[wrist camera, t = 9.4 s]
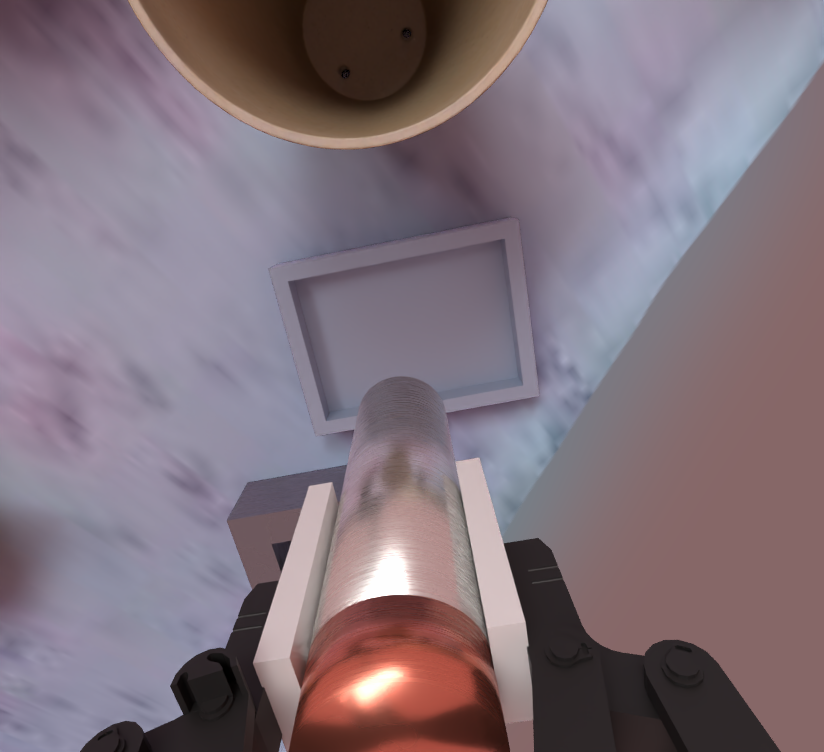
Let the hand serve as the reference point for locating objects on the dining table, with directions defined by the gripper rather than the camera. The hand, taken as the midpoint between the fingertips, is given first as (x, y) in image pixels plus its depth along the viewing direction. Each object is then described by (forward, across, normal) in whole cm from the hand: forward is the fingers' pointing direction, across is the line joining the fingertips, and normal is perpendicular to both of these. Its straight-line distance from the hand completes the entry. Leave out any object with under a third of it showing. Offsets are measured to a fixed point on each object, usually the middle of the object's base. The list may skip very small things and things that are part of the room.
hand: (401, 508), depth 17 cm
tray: (+21, +1, 0) cm, 21 cm away
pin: (+7, 0, 0) cm, 7 cm away
